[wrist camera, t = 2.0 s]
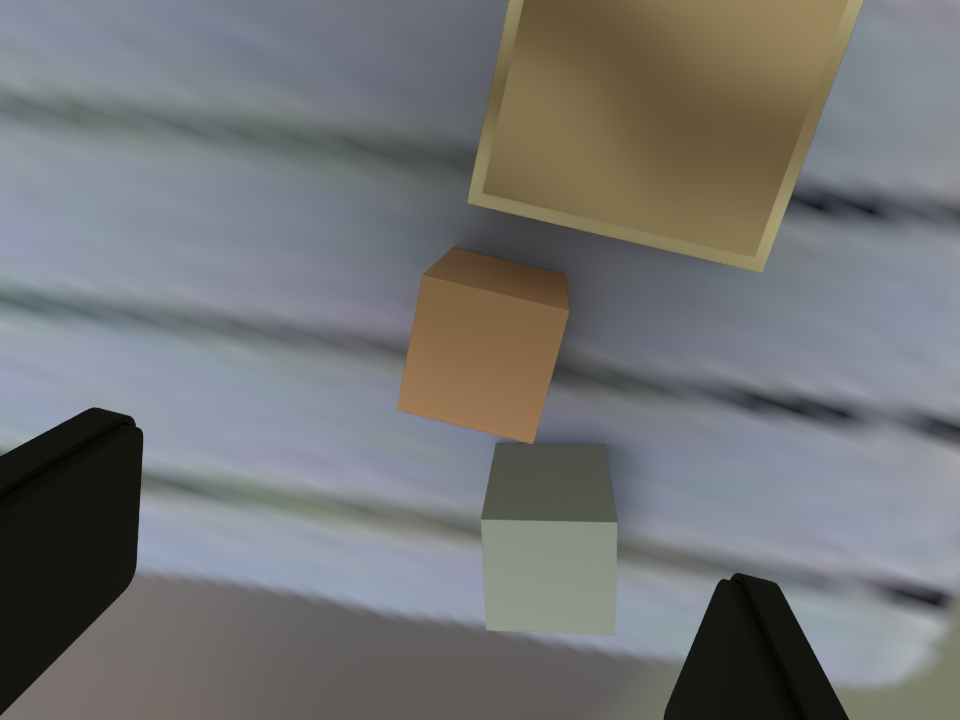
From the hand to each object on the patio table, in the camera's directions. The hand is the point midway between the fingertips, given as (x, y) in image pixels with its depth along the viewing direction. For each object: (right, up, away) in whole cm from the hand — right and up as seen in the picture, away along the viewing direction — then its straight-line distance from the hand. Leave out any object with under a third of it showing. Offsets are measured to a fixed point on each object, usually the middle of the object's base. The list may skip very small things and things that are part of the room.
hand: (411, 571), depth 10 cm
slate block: (+4, -2, +17) cm, 18 cm away
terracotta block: (+2, +5, +15) cm, 16 cm away
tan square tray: (+7, +13, +12) cm, 19 cm away
